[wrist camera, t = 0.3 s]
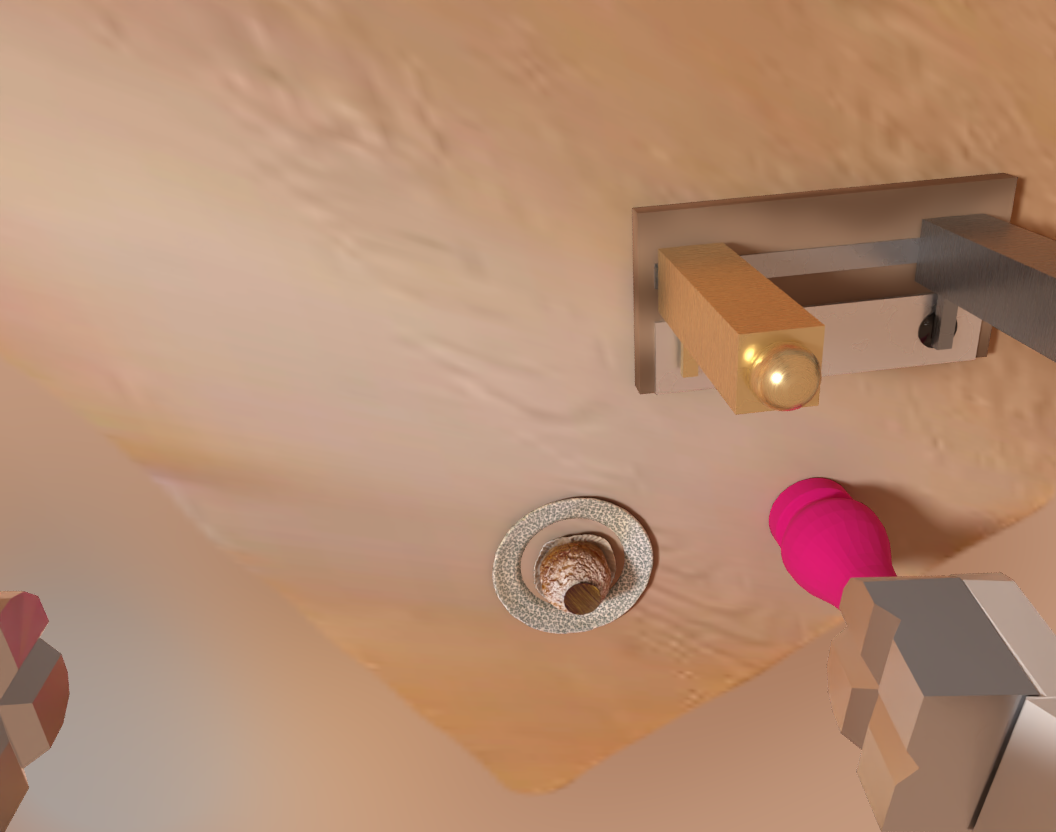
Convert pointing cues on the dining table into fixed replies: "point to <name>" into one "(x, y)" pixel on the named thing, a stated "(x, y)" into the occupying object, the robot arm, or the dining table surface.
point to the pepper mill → (828, 538)
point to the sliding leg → (740, 329)
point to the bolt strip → (844, 318)
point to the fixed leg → (990, 278)
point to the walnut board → (808, 240)
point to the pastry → (573, 568)
